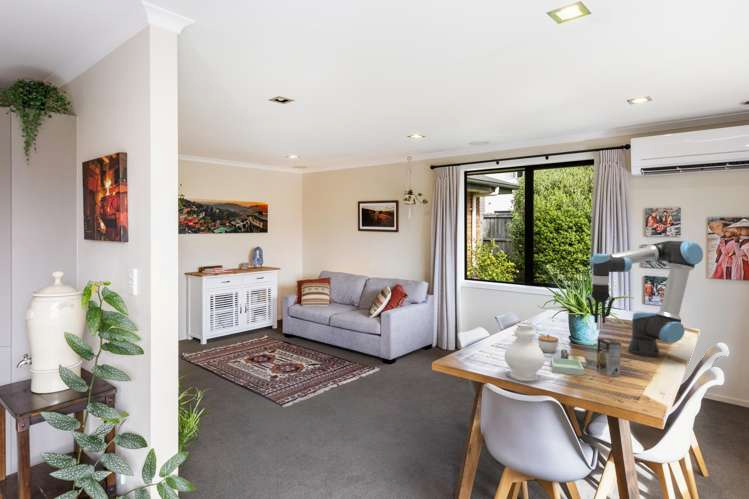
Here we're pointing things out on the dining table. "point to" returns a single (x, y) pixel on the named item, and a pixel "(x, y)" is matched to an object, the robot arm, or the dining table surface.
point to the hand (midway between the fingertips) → (599, 329)
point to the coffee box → (608, 357)
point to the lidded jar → (548, 343)
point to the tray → (567, 366)
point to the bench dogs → (564, 354)
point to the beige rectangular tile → (579, 359)
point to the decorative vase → (524, 354)
